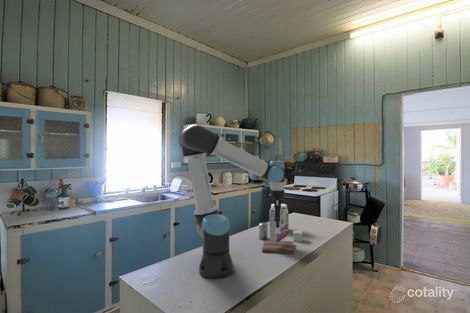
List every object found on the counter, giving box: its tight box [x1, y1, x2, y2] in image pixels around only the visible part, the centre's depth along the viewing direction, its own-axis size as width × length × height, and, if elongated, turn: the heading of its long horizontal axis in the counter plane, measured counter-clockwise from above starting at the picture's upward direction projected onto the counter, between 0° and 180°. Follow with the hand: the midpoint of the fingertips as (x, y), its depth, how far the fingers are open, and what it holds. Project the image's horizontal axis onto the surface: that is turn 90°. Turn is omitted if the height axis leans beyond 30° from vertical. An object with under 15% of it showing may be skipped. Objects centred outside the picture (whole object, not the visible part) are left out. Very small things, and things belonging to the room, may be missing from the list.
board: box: [261, 239, 295, 255], centre depth 137 cm, size 14×16×2 cm
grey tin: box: [258, 222, 269, 241], centre depth 153 cm, size 5×5×9 cm
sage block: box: [292, 230, 303, 243], centre depth 149 cm, size 5×5×5 cm
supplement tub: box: [269, 203, 290, 232], centre depth 169 cm, size 12×12×17 cm
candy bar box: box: [268, 207, 288, 242], centre depth 137 cm, size 11×5×16 cm, turn 143°
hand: (278, 229), depth 137 cm, fingers closed on candy bar box, 12 cm apart
